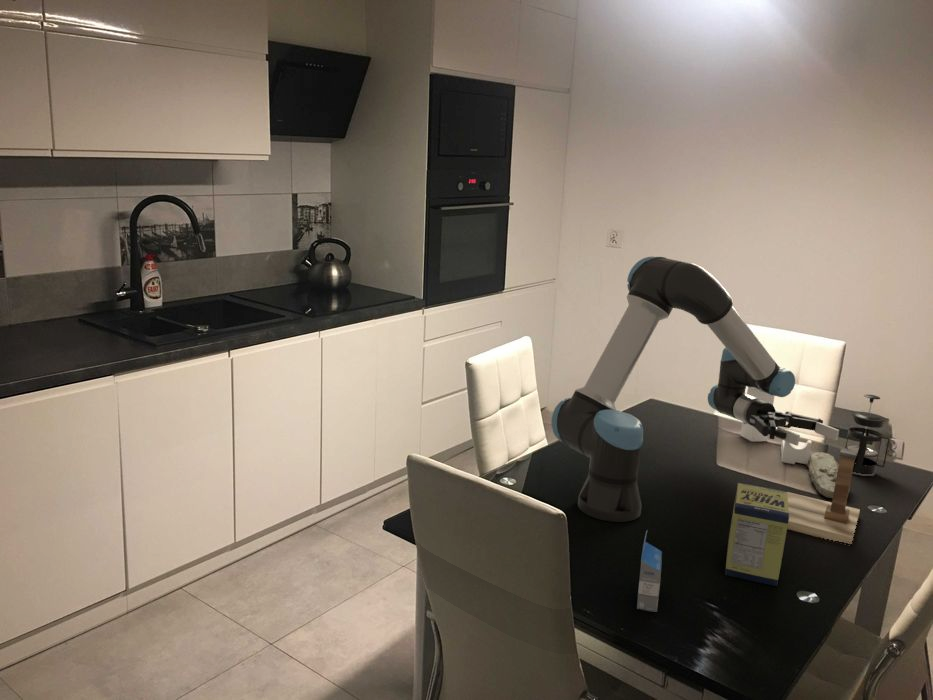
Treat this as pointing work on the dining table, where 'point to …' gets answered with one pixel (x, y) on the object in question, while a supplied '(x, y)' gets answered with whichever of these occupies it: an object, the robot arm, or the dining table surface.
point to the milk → (750, 431)
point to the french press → (866, 439)
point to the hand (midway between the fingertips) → (818, 437)
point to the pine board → (819, 519)
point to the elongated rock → (823, 472)
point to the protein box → (757, 533)
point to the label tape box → (649, 578)
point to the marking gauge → (841, 488)
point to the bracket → (795, 452)
